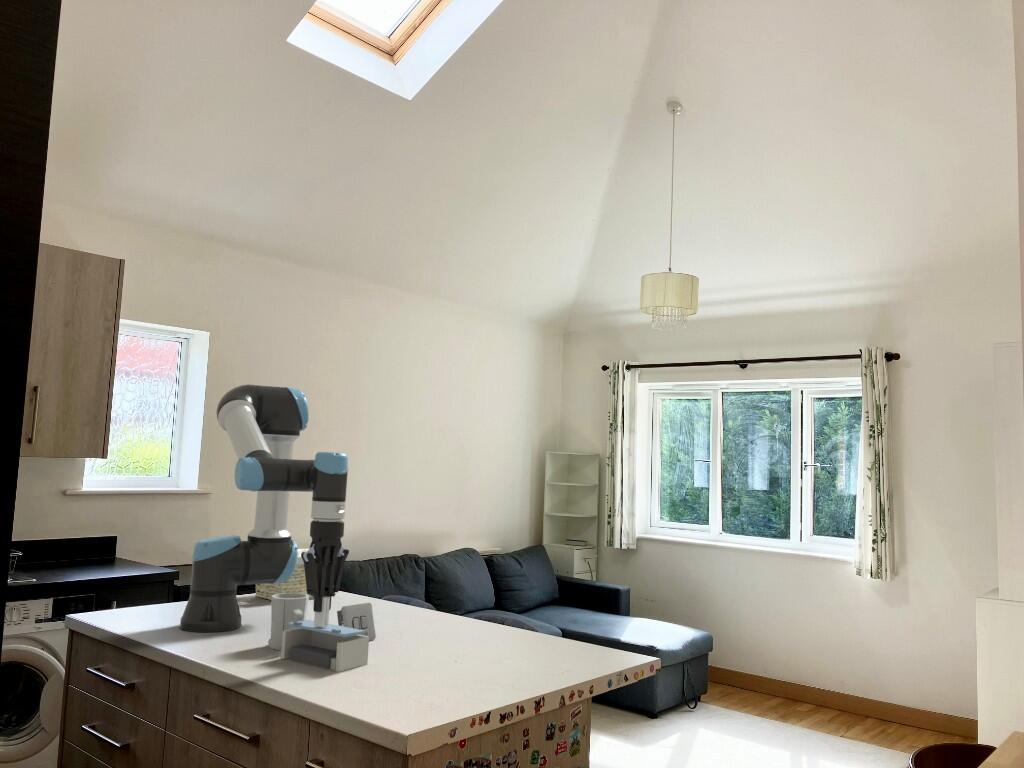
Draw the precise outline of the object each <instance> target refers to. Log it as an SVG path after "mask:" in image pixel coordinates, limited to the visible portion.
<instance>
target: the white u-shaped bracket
mask: <svg viewBox="0 0 1024 768" xmlns="http://www.w3.org/2000/svg"><path fill="white" fill-rule="evenodd" d="M369 643H370V641H369V637H368V636H363V635H353V636H347V637H341V636H336V635H331V634H327V633H322V632H317V631H312V630H307V629H302V628H296V629H291V630H286V631H283V634H282V649H281V650H280V651H281V652H280V653H281V654H280V659H281V660H286V659H290V651H291V647H293V646H298V645H302V644H306V645H310V646H315V647H319V648H324V649H329V650H333V651H337V655H336V670H335V672H337V673H339V672H343V671H348V670H351V669H354V668H359V667H362V666H365V665H366V666H367V665H368V662H369V661H368V660H369V645H370V644H369Z"/></svg>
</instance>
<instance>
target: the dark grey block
mask: <svg viewBox="0 0 1024 768" xmlns="http://www.w3.org/2000/svg"><path fill="white" fill-rule="evenodd" d="M336 655H337V651H333V650H329V649H324V648H319V647H315V646H310V645H306V644H302V645H298V646H293V647H291V651H290V658H289V661H291V662H296V663H300V664H303V665H304V664H305V665H308V666H311V667H317V668H321V669H325V670H333V671H336Z"/></svg>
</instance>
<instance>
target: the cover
mask: <svg viewBox="0 0 1024 768" xmlns="http://www.w3.org/2000/svg"><path fill="white" fill-rule="evenodd" d="M287 626H292V627H297V628H302V629H307V630H312V631H317V632H322V633H327V634H331V635H336V636H341V637H347V636H353V635H360V634H364V635H368V631H364V630H359V629H354V628H348V627H343V625H342V626H339V625H337V624H332V623H328V627H323V628H322V627H317V626H314V620H312V619H309V620H307V619H306V621H298V622H297V621H295V622H290V623H288V624H287Z"/></svg>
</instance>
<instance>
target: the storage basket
mask: <svg viewBox="0 0 1024 768" xmlns="http://www.w3.org/2000/svg"><path fill="white" fill-rule="evenodd" d="M309 549H310V548H297V551H298V556H297V563H296V567H295V570H294V572H293V574H292V576H291V577H290V579H289V580H287V581H286V582H282V583H274V584H269V583H268V584H255V596H256V597H258V598H260V599H265V600H270V601H271V596H272V595H274V594H280V593H301V594H307V588H306V578H305V569H304V562H303V559H302V557H301V553H302V552H307V551H308V550H309ZM334 587H335V586H334ZM307 595H308V596H309V600H312V599H313V600H314V596H311V595H309V594H307Z"/></svg>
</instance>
